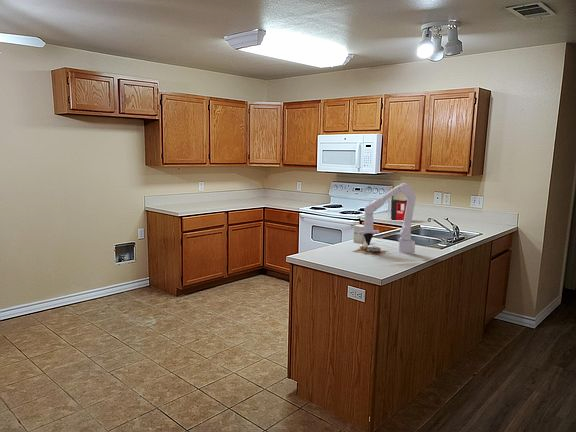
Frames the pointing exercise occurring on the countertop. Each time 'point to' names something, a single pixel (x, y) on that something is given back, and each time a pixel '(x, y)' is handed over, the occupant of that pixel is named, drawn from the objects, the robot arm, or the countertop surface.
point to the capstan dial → (370, 248)
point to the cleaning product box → (398, 209)
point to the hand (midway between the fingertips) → (368, 245)
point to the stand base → (370, 252)
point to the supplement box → (357, 237)
